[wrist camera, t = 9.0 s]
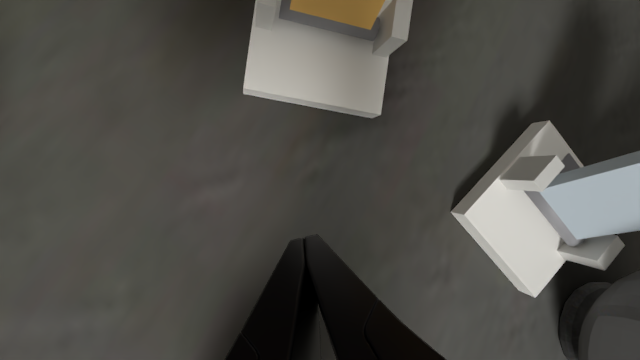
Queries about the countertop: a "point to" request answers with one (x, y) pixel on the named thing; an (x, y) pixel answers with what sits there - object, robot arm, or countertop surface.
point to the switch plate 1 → (322, 60)
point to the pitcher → (602, 321)
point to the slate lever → (593, 199)
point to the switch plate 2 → (528, 213)
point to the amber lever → (336, 15)
